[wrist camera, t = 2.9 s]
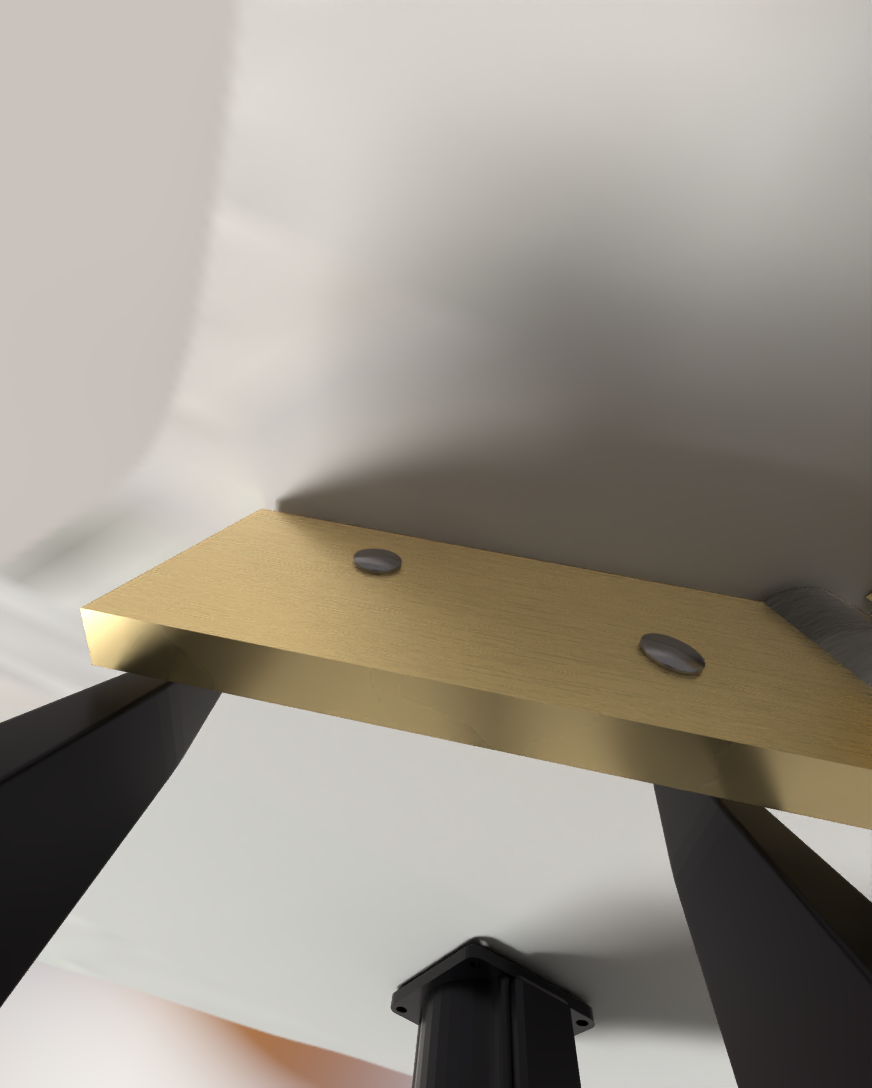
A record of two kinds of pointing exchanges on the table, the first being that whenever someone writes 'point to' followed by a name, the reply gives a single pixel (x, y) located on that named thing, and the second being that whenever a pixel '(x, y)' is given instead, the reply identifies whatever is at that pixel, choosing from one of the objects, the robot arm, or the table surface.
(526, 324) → the table surface
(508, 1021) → the robot arm
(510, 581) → the swing leaf
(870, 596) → the block
